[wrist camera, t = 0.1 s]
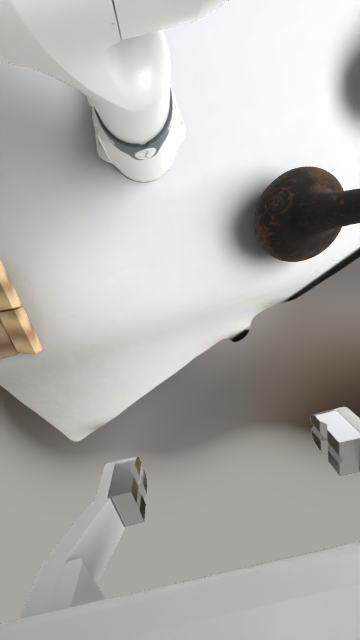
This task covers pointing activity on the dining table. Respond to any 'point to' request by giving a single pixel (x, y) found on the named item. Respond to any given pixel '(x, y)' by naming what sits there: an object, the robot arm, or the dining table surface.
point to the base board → (6, 343)
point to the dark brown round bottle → (304, 213)
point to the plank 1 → (7, 291)
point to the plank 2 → (20, 331)
